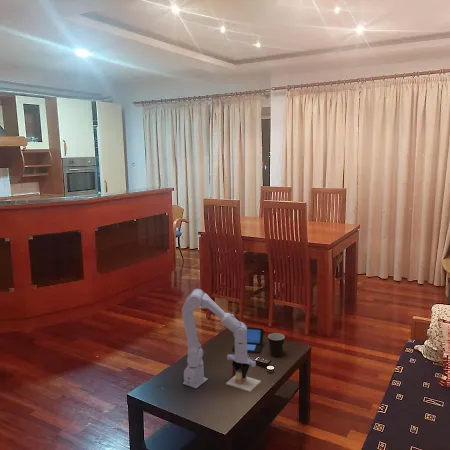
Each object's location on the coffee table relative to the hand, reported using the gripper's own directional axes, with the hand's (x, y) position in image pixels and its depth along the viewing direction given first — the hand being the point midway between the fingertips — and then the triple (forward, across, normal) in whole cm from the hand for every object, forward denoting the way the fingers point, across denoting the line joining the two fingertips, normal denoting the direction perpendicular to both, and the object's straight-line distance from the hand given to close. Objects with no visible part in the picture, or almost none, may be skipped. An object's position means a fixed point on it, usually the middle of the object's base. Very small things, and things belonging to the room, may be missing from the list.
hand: (241, 376), depth 198 cm
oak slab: (+2, 0, 0) cm, 2 cm away
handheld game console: (+3, +16, -33) cm, 37 cm away
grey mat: (+3, -1, 0) cm, 3 cm away
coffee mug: (+3, -1, -35) cm, 35 cm away
